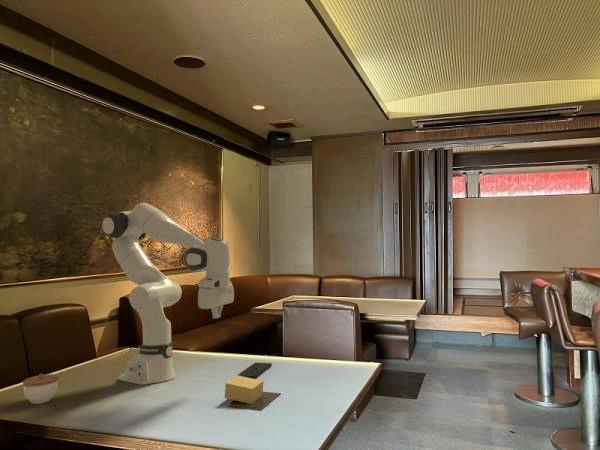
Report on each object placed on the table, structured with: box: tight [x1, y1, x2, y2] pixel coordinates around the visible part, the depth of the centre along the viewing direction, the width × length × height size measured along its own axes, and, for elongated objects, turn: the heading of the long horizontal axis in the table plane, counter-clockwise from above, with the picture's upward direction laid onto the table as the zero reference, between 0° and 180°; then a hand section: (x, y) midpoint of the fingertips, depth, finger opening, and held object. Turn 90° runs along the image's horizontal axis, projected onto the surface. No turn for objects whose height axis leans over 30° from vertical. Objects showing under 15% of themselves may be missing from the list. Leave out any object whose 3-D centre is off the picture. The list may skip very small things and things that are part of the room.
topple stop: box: [226, 391, 282, 411], centre depth 150 cm, size 13×16×1 cm
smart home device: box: [237, 362, 273, 379], centre depth 185 cm, size 8×2×20 cm
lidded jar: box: [22, 373, 59, 405], centre depth 155 cm, size 11×11×9 cm
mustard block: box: [224, 375, 264, 404], centre depth 152 cm, size 5×9×10 cm
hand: (216, 317), depth 166 cm, fingers closed
